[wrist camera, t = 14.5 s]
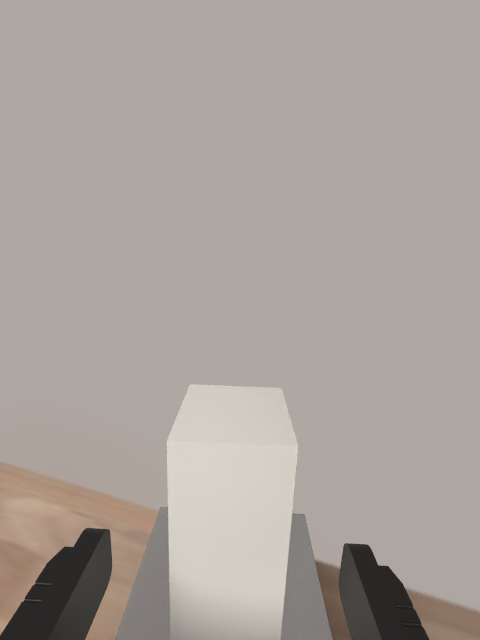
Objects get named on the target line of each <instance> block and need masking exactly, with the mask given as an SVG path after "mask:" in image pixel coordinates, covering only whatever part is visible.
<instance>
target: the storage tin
mask: <svg viewBox="0 0 480 640" xmlns="http://www.w3.org/2000/svg"><path fill="white" fill-rule="evenodd" d="M115 640H170V590H169V531H168V507H160V510H159V513H158V515H157V518H156V521H155V524H154V527H153V530H152V533H151V536H150V539H149V542H148V545H147V548H146V551H145V554H144V557H143V559H142V562H141V565H140V568H139V571H138V574H137V577H136V580H135V583H134V586H133V589H132V592H131V595H130V598H129V601H128V603H127V606H126V609H125V612H124V615H123V618H122V621H121V624H120V627H119V630H118V633H117V636H116V639H115ZM280 640H332V635H331V631H330V626H329V622H328V617H327V613H326V608H325V604H324V600H323V595H322V591H321V586H320V582H319V577H318V573H317V568H316V564H315V560H314V555H313V551H312V546H311V542H310V537H309V533H308V529H307V524H306V520H305V515H304V514H292V520H291V531H290V542H289V553H288V564H287V574H286V585H285V596H284V607H283V618H282V629H281V639H280Z"/></svg>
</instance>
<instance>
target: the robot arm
mask: <svg viewBox="0 0 480 640" xmlns="http://www.w3.org/2000/svg"><path fill="white" fill-rule="evenodd" d="M111 571H112V553H111V538H110V530H109V529H95V528H86V529H85V530H84V531H83V532H82V534H81V535H80V537H79V539H78V540H77V542H76V544H75V545H74V547H64V548H63V549H62V550H61V551H60V552H59V553H57V554H56V555H55V556H54V557H53V558H52V559H51V560H50V561H49V562H48V563H47V565H46V566H45V568H44V569H43V571H42V572H41V574H40V575H39V577H38V579H37V580H36V582H35V585H33V586H32V588H31V589H30V591H29V592H28V594H27V595H26V597H25V600H24V602H22V603H21V605H20V606H19V608H18V609H17V611H16V612H15V614H14V615H13V617H12V618H11V620H10V622H9V623H8V625H7V626H6V628H5V629H4V631H3V632H2V634H1V635H0V640H85V638H86V636H87V634H88V631H89V629H90V626H91V624H92V622H93V619H94V617H95V615H96V612H97V610H98V608H99V605H100V603H101V600H102V598H103V596H104V593H105V591H106V589H107V586H108V583H109V580H110V576H111ZM339 589H340V596H341V601H342V605H343V609H344V612H345V616H346V620H347V623H348V627H349V631H350V634H351V638H352V640H429V638H428V636H427V634H426V632H425V630H424V628H423V627H422V625H421V621H420V619H419V617H418V615H417V613H416V611H415V609H413V605H412V602H411V600H410V598H409V596H408V594H407V592H406V590H405V588H404V586H403V584H402V583H401V581H400V580H399V579H398V578H397V577H396V575H395V574H394V573H393V572H392V570H391V569H390V568H389V567H388V566H378V564H377V562H376V559H375V557H374V555H373V552H372V550H371V548H370V547H369V546H368V545H365V544H344V548H343V554H342V562H341V569H340V576H339Z"/></svg>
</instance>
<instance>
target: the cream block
mask: <svg viewBox="0 0 480 640" xmlns="http://www.w3.org/2000/svg"><path fill="white" fill-rule="evenodd" d="M297 455H298V444H297V440H296V437H295V433H294V430H293V426H292V423H291V419H290V416H289V412H288V409H287V406H286V402H285V399H284V396H283V392H282V389H281V388H265V387H241V386H216V385H191V384H190V386H189V388H188V391H187V394H186V396H185V398H184V401H183V403H182V405H181V408H180V410H179V413H178V415H177V418H176V420H175V423H174V425H173V428H172V430H171V432H170V435H169V437H168V440H167V471H168V531H169V590H170V640H280V639H281V629H282V618H283V607H284V596H285V585H286V574H287V564H288V553H289V542H290V531H291V520H292V509H293V498H294V487H295V477H296V465H297Z"/></svg>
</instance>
